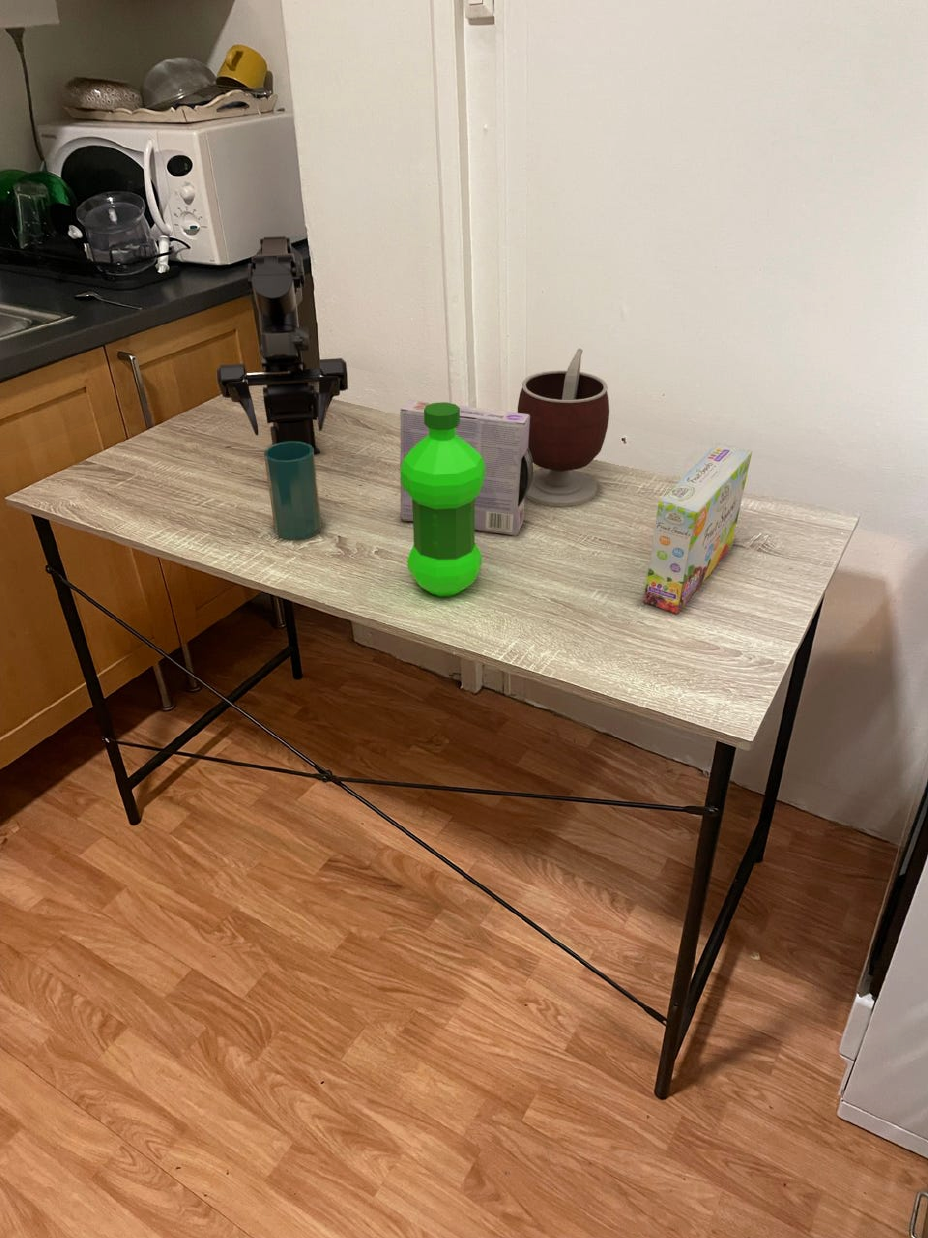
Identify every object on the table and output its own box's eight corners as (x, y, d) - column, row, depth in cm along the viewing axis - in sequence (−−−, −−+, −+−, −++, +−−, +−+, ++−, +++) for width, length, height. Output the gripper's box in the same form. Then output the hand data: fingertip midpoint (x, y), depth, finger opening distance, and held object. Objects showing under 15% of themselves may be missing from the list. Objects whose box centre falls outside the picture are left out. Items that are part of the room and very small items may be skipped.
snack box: (682, 617, 117) (698, 512, 109) (640, 604, 120) (654, 500, 111) (735, 545, 132) (754, 448, 123) (698, 535, 134) (714, 439, 126)
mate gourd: (590, 515, 140) (600, 388, 128) (503, 500, 144) (506, 376, 132) (612, 472, 152) (624, 353, 140) (532, 460, 156) (537, 343, 144)
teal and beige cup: (311, 513, 140) (302, 437, 133) (328, 533, 135) (320, 455, 128) (268, 524, 138) (257, 447, 131) (284, 544, 133) (274, 465, 126)
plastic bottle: (431, 558, 129) (426, 387, 115) (497, 579, 125) (501, 403, 110) (391, 592, 122) (381, 414, 108) (459, 615, 118) (458, 432, 103)
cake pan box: (531, 522, 138) (536, 410, 128) (524, 538, 134) (529, 424, 124) (409, 507, 142) (405, 397, 132) (399, 522, 138) (394, 410, 128)
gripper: (207, 309, 128) (215, 414, 126) (341, 302, 131) (351, 405, 128) (219, 347, 139) (226, 444, 137) (343, 340, 142) (352, 435, 139)
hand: (288, 432), depth 135 cm, fingers open, 9 cm apart
